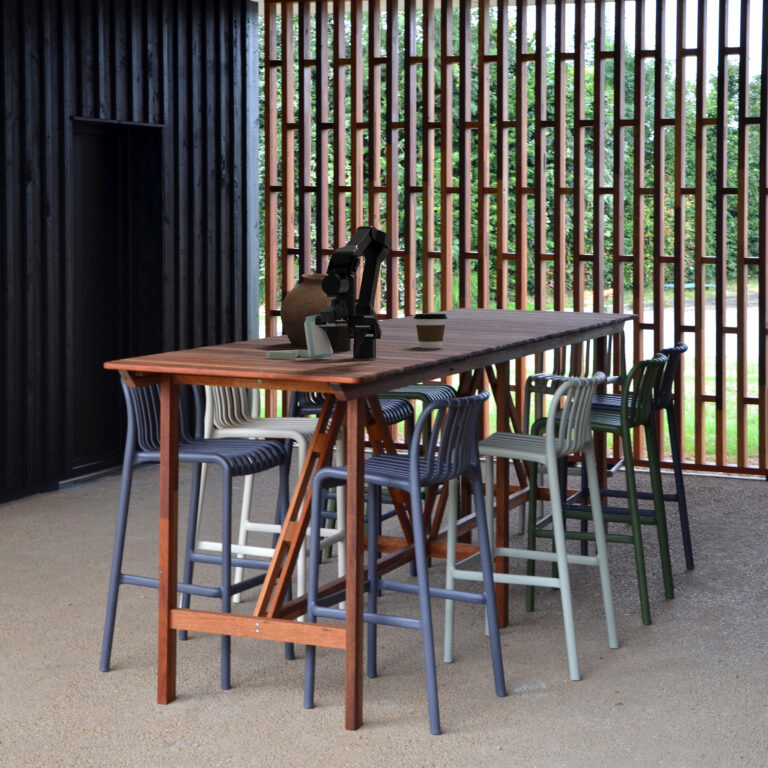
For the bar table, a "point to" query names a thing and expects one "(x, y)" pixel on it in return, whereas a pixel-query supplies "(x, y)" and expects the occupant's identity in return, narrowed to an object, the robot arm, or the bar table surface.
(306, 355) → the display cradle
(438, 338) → the coffee cup
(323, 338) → the can
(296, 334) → the pottery
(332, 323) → the robot arm
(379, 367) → the bar table surface
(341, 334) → the travel mug
